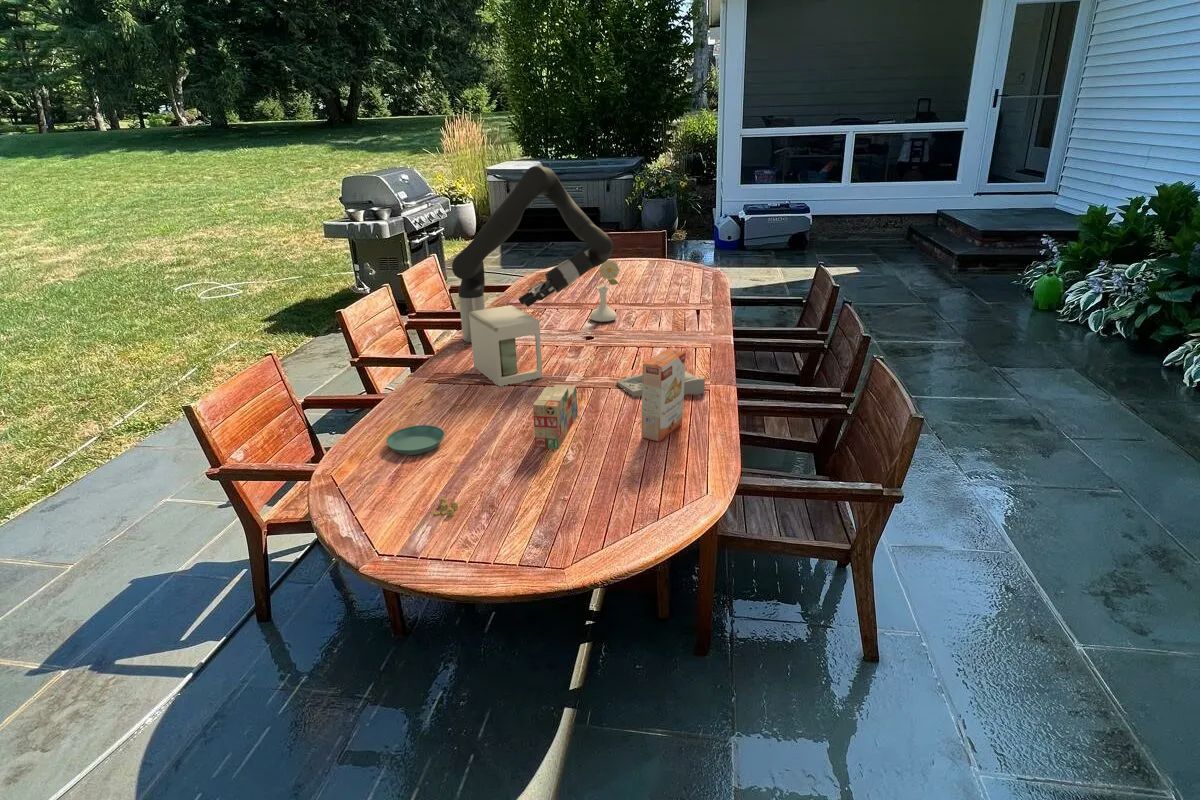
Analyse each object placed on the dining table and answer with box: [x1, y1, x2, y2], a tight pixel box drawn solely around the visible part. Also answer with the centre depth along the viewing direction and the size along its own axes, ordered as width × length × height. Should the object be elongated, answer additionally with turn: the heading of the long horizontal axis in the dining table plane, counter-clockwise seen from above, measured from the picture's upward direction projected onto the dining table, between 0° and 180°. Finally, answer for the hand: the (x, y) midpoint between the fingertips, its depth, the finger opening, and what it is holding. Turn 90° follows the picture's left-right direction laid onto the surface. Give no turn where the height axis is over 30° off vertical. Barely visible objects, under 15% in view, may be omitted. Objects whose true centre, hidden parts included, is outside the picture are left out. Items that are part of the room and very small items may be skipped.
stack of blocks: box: [532, 384, 579, 450], centre depth 178 cm, size 21×6×12 cm, turn 168°
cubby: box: [469, 304, 543, 387], centre depth 220 cm, size 22×15×19 cm
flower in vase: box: [589, 259, 621, 323], centre depth 273 cm, size 13×11×25 cm
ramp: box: [616, 370, 706, 397], centre depth 206 cm, size 28×16×5 cm, turn 75°
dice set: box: [433, 497, 459, 518], centre depth 145 cm, size 5×5×2 cm
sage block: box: [499, 338, 519, 376], centre depth 221 cm, size 5×5×12 cm
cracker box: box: [640, 348, 687, 443], centre depth 175 cm, size 14×6×21 cm, turn 148°
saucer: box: [385, 424, 446, 456], centre depth 174 cm, size 15×15×3 cm
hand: (522, 303), depth 221 cm, fingers open, 8 cm apart
